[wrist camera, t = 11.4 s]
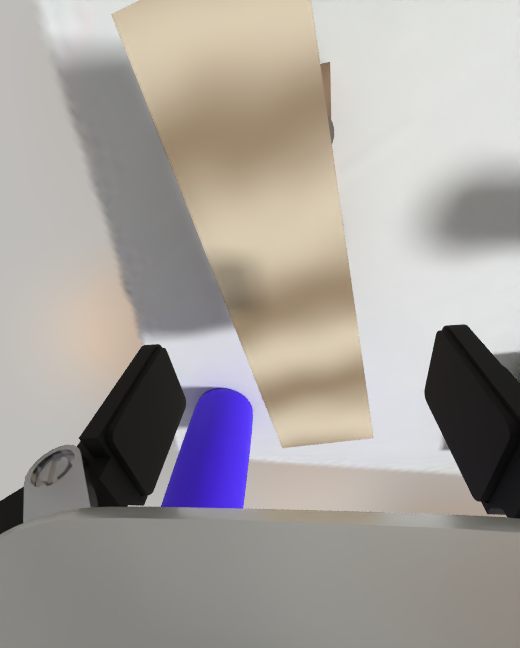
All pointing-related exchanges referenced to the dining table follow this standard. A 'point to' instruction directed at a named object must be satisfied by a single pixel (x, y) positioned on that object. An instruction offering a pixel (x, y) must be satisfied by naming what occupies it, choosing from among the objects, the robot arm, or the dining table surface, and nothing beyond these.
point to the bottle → (213, 454)
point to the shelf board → (260, 194)
